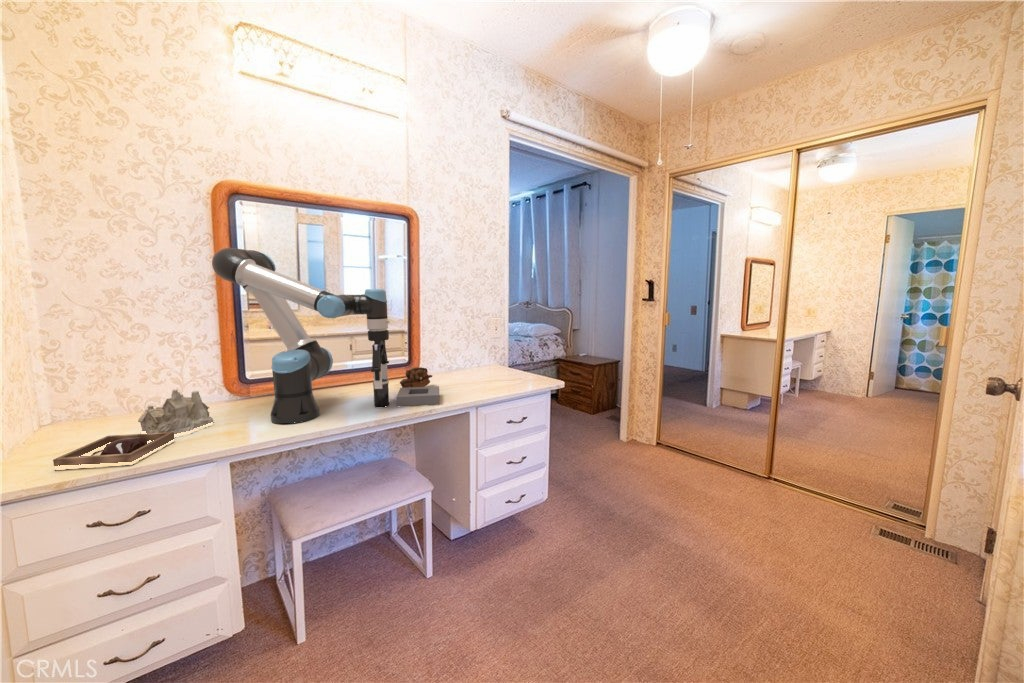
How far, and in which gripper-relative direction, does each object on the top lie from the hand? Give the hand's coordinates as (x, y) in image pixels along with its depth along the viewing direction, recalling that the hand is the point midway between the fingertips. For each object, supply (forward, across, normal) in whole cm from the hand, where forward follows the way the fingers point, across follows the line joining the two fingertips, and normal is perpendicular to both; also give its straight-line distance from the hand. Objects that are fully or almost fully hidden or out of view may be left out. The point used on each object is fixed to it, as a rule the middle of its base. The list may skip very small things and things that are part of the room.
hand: (381, 384), depth 149 cm
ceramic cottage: (+8, -15, +62) cm, 64 cm away
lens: (+9, 0, 0) cm, 9 cm away
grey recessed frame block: (+9, +4, -14) cm, 17 cm away
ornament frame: (+8, -34, +64) cm, 74 cm away
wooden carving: (+9, +23, -12) cm, 27 cm away
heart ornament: (+8, -34, +62) cm, 72 cm away
